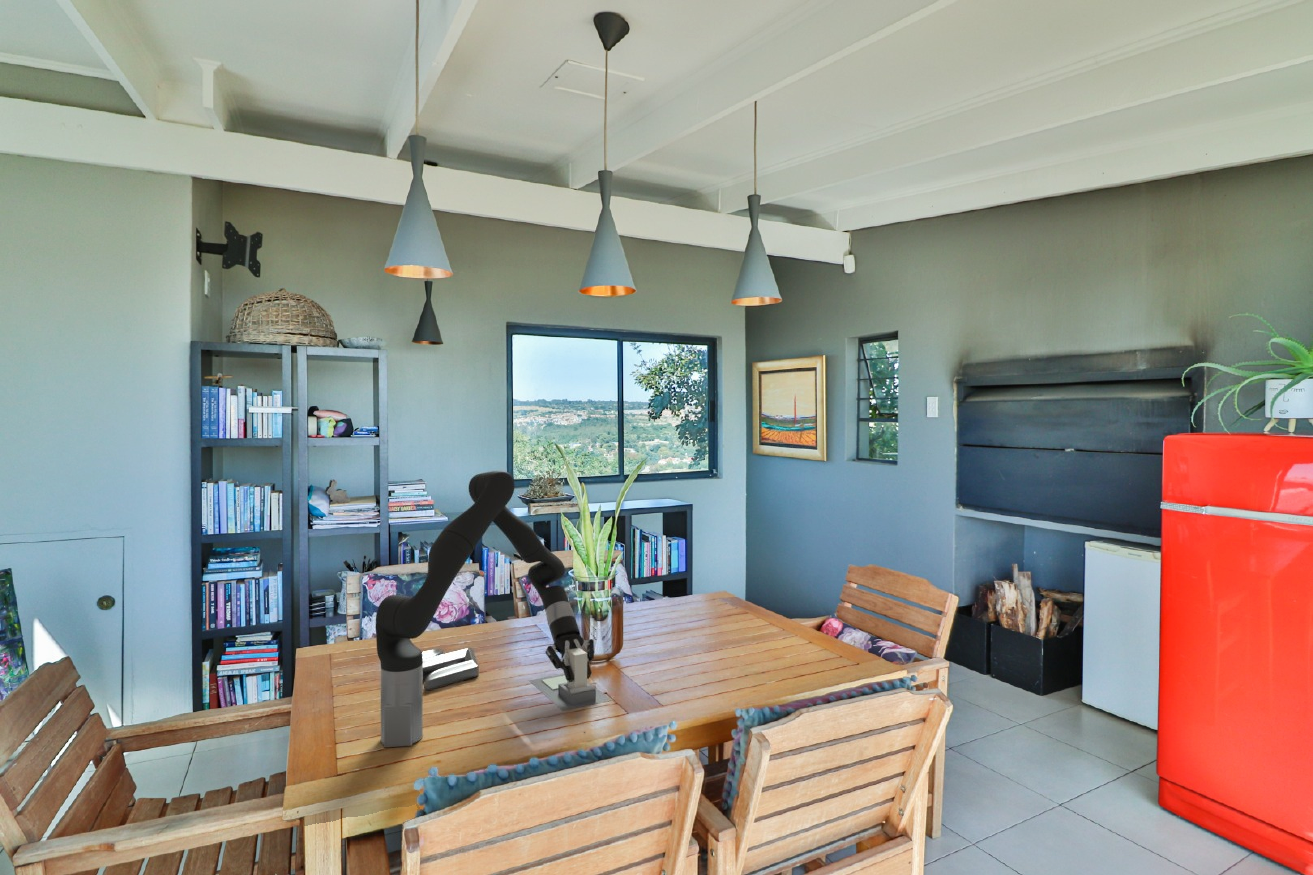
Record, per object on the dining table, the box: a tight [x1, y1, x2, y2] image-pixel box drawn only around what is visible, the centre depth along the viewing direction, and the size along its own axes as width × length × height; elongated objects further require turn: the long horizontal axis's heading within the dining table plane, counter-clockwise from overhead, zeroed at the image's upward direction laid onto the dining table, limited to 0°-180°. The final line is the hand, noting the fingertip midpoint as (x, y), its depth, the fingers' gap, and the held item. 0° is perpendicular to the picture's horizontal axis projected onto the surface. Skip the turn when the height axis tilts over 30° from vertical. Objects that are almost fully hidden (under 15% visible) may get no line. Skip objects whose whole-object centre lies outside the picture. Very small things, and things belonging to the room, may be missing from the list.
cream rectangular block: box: [567, 648, 588, 690], centre depth 191 cm, size 4×5×12 cm
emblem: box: [421, 647, 480, 691], centre depth 211 cm, size 28×5×28 cm
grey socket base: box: [528, 673, 613, 712], centre depth 196 cm, size 14×24×5 cm, turn 31°
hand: (580, 678), depth 190 cm, fingers open, 4 cm apart
